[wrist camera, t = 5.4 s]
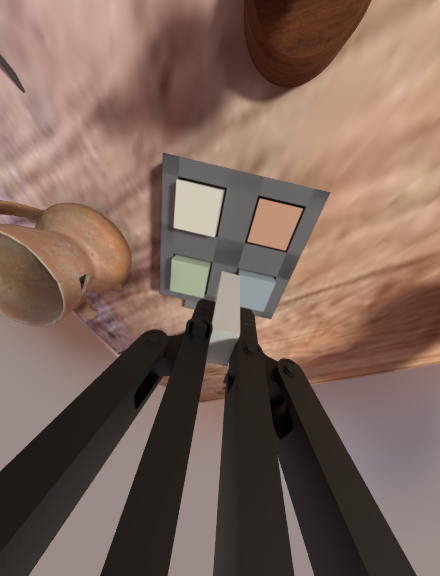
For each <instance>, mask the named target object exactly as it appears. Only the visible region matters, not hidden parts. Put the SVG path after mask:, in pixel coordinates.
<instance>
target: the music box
mask: <svg viewBox="0 0 440 576" xmlns="http://www.w3.org/2000/svg"><path fill="white" fill-rule="evenodd" d="M370 3H371V0H244V26H245V36H246V41H247V46H248V50H249V53H250V56H251V58H252V60H253V62H254V64H255V66H256V68H257V69H258V71H259V72H260V73H261V75H262V76H263V77H264V78H266V79H267V80H268V81H270V82H271V83H273V84H275V85H278V86H282V87H294V86H298V85H301V84H304V83H306V82H308V81H310V80H312V79H313V78H315V77H316V76H317V75H319V74H320V73H321V72H322V71H323V70H324V69H325V68H326V67H327V66H328V65H329V64H330V63H331V62H332V60H333V59H334V58H335V57H336V55H337V54H338V52H339V51H340V50H341V48H342V47H343V46H344V44H345V43H346V42H347V40H348V39H349V38H350V36H351V35H352V34H353V32H354V31H355V29H356V28H357V26H358V25H359V23H360V21H361V20H362V18H363V16H364V14H365V13H366V11H367V9H368V7H369V5H370Z"/></svg>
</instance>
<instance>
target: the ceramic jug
mask: <svg viewBox="0 0 440 576" xmlns="http://www.w3.org/2000/svg"><path fill="white" fill-rule="evenodd" d="M0 214H3V215H14V216H19V217H25V218H30V219H35V220H37V222H36V226H35V228H30V227H24V226H18V225H9V224H0V314H2V315H4V316H6V317H9V318H11V319H13V320H15V321H18V322H21V323H24V324H28V325H32V326H50V325H53V324H55V323H56V322H58V321H60V320H61V319H63V318H64V317H65V316H67V315H68V314H69V313H70V312H71V311H72V310H73V309H75V310H76V311H77V313H78V314H79V315H80V316H82V317H84V318H86V319H89V320H92V319H94V317H96V316H97V315H98V310H96V309H94V308H93V307H92V306H91V305H90V303H89V299H88V296H87V294H86V291H88V292H97V293H99V292H107V291H111V290H115V291H116V290H120V289H122V288H123V287H124V284H125V281H126V279H127V277H128V275H129V273H130V269H131V253H130V249H129V246H128V244H127V242H126V240H125V238H124V236H123V235H122V233H121V232H120V230H119V229H118V228H117V227H116V226H115V225H114V224H113V223H112V222H111V221H110V220H109V219H108V218H106V217H105V216H104V215H102V214H101V213H99V212H97V211H96V210H94V209H92V208H89V207H87V206H84V205H80V204H75V203H60V204H56V205H53V206H51V207H49V208H48V209H46V210H40V209H36V208H33V207H30V206H27V205H22V204H18V203H13V202H8V201H2V200H0Z"/></svg>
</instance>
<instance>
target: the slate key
mask: <svg viewBox="0 0 440 576" xmlns="http://www.w3.org/2000/svg"><path fill="white" fill-rule="evenodd" d="M237 275H240V307H244V308H249V309H253V310H258V311H262V312H264V309H265V307H266V305H267V302H268V300H269V298H270V295H271V293H272V291H273V288H274V286H275V284H276V282H275V279H274V277H273V276H270V275H265V274H261V273H257V272H252V271H248V270H244V269H239V271H238V274H237Z"/></svg>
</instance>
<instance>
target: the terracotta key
mask: <svg viewBox="0 0 440 576" xmlns="http://www.w3.org/2000/svg"><path fill="white" fill-rule="evenodd" d="M302 210H303V208H300V207H297V206H293V205H289V204H285V203H280V202H276V201H272V200H268V199H264V198H259V197H258V200H257V204H256V207H255V211H254V214H253V218H252V221H251V225H250V228H249V232H248V236H247V242H251V243H255V244H260V245H264V246H268V247H272V248H277V249H281V250H285V251H286V248H287V246H288V243H289V241H290V239H291V236H292V234H293V231H294V229H295V227H296V224H297V222H298V219H299V217H300V215H301V212H302Z"/></svg>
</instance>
